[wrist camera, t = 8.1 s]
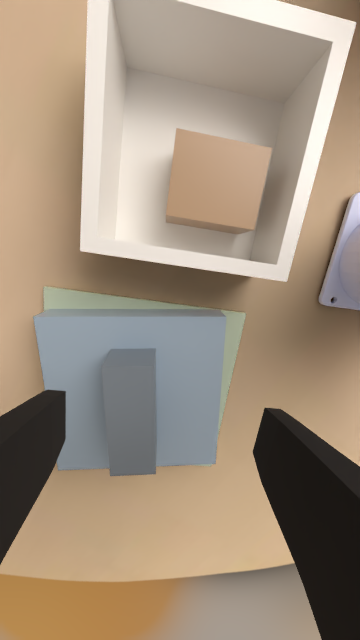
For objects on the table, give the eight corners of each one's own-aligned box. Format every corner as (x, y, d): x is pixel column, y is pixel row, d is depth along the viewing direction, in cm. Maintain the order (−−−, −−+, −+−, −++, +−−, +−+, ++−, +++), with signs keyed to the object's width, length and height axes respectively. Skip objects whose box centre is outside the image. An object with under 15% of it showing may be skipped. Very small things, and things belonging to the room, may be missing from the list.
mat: (244, 312, 18) (246, 313, 18) (210, 462, 22) (211, 466, 22) (46, 286, 17) (43, 286, 16) (47, 452, 21) (45, 455, 20)
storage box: (293, 98, 15) (356, 22, 10) (253, 274, 17) (286, 282, 13) (116, 57, 13) (89, -52, 9) (105, 251, 16) (79, 251, 12)
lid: (219, 309, 18) (238, 328, 13) (210, 442, 21) (223, 495, 16) (49, 308, 17) (5, 329, 12) (69, 447, 20) (41, 504, 16)
